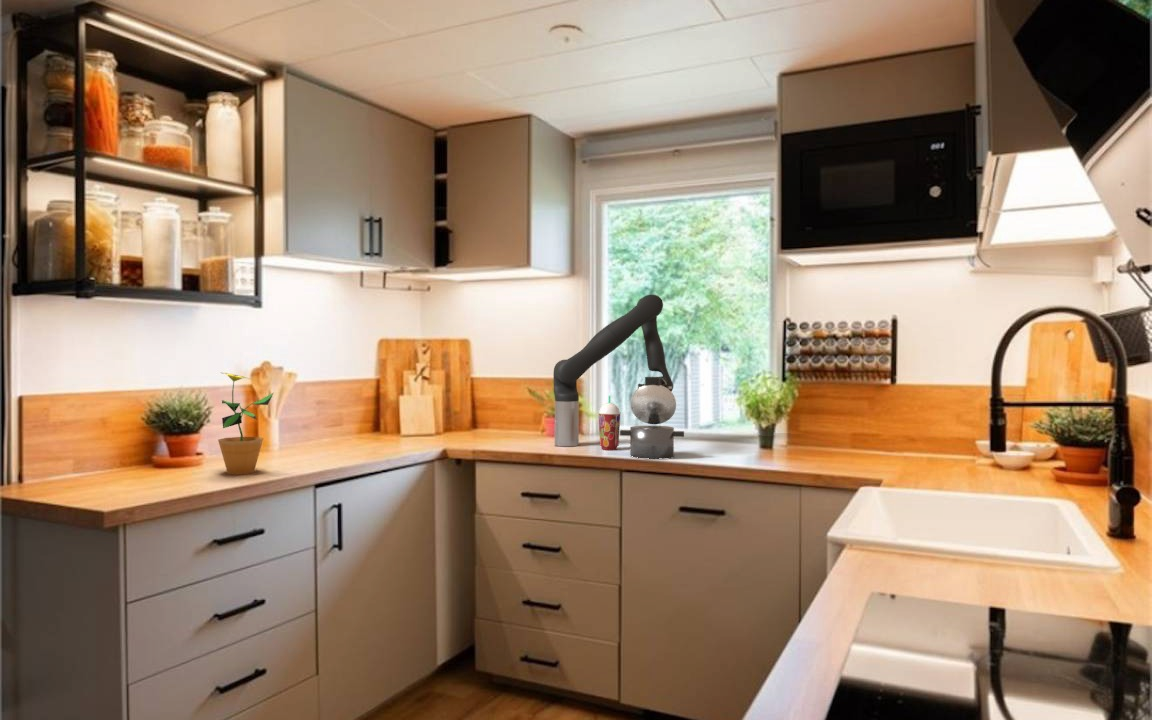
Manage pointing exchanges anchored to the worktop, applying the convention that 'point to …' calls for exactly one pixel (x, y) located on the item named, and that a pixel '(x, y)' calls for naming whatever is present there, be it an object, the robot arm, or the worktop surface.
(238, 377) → the potted plant
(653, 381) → the lid
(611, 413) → the smoothie
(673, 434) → the cooker pot
